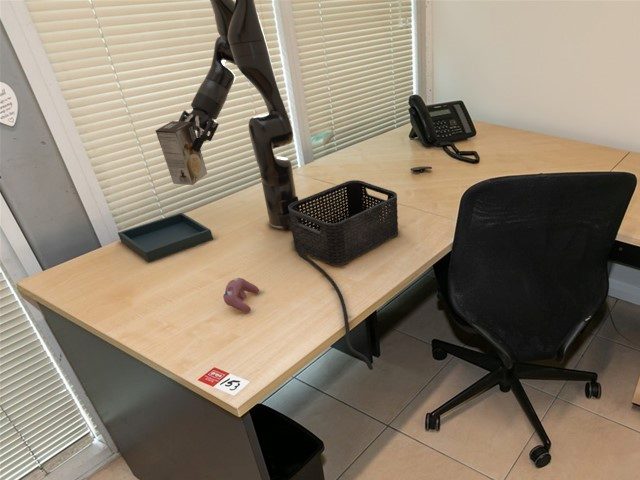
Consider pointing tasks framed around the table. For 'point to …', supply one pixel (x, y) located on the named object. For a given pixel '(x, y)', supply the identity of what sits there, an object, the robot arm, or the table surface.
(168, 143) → the coffee box
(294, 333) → the table surface
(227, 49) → the robot arm
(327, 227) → the storage bin
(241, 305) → the video game controller
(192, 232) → the tray
